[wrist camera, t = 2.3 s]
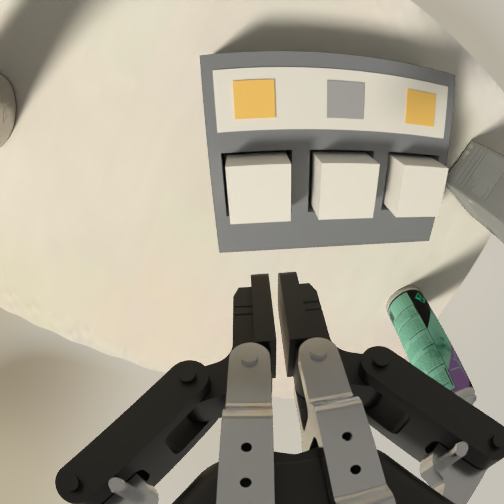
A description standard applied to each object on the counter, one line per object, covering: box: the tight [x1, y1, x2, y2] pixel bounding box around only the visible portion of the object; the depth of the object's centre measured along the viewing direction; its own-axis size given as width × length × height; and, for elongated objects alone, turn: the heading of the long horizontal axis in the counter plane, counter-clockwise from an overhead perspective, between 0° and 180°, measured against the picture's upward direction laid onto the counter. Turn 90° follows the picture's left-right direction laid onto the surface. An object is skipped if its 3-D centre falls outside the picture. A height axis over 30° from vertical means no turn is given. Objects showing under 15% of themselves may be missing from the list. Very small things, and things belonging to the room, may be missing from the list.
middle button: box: [311, 152, 380, 220], centre depth 22 cm, size 4×4×3 cm
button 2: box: [225, 152, 291, 224], centre depth 22 cm, size 4×4×3 cm
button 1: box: [382, 153, 449, 217], centre depth 22 cm, size 4×4×3 cm
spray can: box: [386, 286, 476, 405], centre depth 29 cm, size 6×6×20 cm
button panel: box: [200, 51, 455, 253], centre depth 24 cm, size 20×16×5 cm
